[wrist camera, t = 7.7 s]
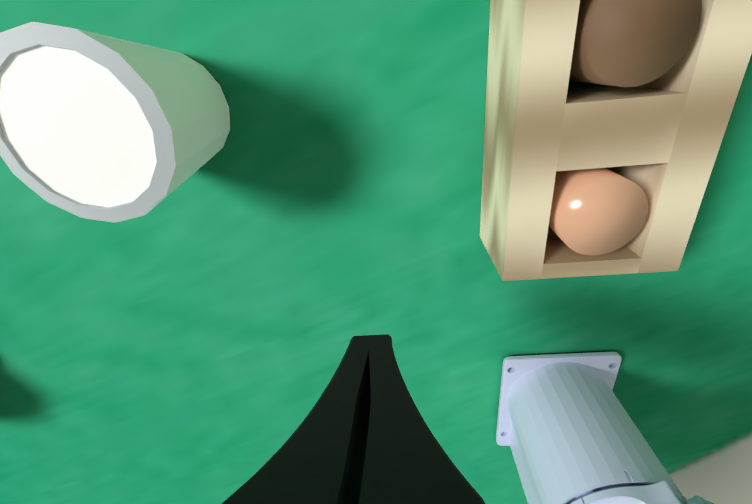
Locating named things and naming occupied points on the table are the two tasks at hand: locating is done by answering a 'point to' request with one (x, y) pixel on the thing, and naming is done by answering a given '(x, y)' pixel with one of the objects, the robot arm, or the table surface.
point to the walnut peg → (631, 39)
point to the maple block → (600, 136)
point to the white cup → (104, 119)
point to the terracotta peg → (596, 210)
